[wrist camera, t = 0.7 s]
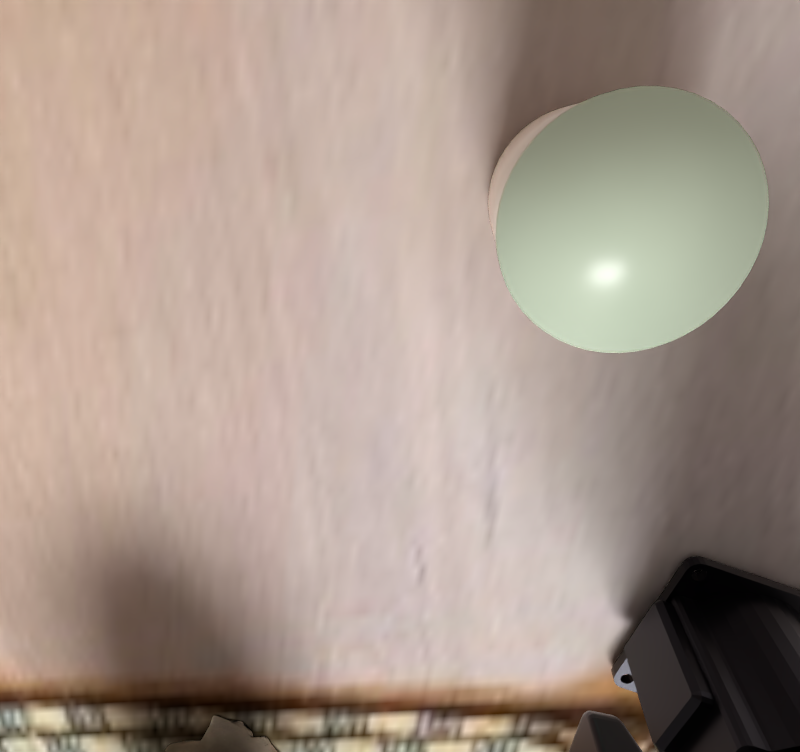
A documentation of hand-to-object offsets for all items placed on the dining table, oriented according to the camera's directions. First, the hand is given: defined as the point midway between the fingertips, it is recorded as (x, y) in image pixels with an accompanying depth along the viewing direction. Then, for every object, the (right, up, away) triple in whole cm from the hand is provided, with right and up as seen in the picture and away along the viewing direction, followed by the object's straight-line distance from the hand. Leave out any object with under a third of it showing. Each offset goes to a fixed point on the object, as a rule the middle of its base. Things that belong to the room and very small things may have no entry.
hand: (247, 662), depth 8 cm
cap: (+7, +9, +9) cm, 15 cm away
